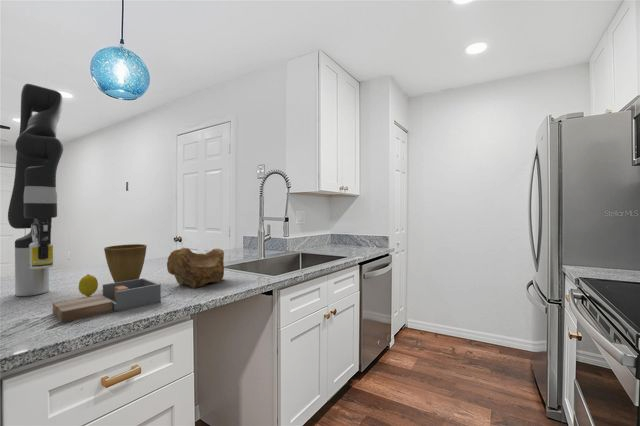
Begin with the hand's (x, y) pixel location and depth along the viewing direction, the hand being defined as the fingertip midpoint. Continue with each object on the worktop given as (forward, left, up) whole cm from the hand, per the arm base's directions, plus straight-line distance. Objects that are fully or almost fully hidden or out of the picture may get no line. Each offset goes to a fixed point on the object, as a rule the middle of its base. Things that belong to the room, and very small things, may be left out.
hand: (41, 257), depth 94 cm
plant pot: (-18, +29, -17) cm, 38 cm away
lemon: (-9, +14, -17) cm, 23 cm away
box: (+10, +21, -16) cm, 28 cm away
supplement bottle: (0, 0, -3) cm, 3 cm away
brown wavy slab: (+10, +8, -16) cm, 21 cm away
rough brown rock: (+4, +49, -17) cm, 52 cm away
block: (+10, +17, -13) cm, 24 cm away
